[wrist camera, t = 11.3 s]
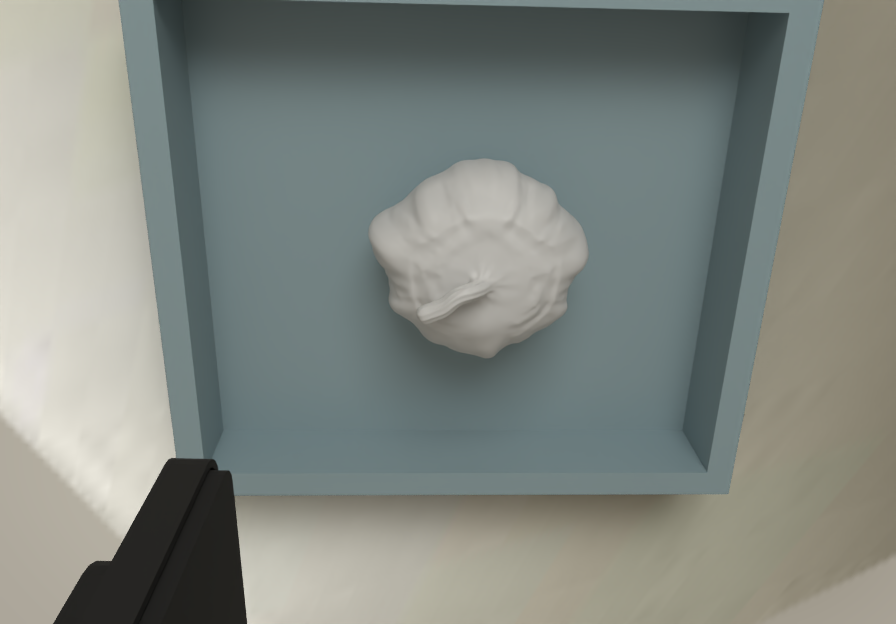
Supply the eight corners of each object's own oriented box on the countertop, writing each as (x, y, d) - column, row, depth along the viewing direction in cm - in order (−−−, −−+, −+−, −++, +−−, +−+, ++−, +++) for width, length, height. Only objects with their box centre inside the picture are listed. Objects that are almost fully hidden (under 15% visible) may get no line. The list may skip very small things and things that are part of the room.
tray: (769, -23, 23) (827, -22, 19) (692, 434, 28) (728, 494, 25) (157, -39, 22) (113, -41, 19) (208, 434, 28) (181, 495, 24)
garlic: (372, 314, 25) (362, 395, 20) (372, 141, 23) (362, 185, 18) (562, 317, 25) (596, 398, 21) (579, 147, 23) (623, 192, 18)
